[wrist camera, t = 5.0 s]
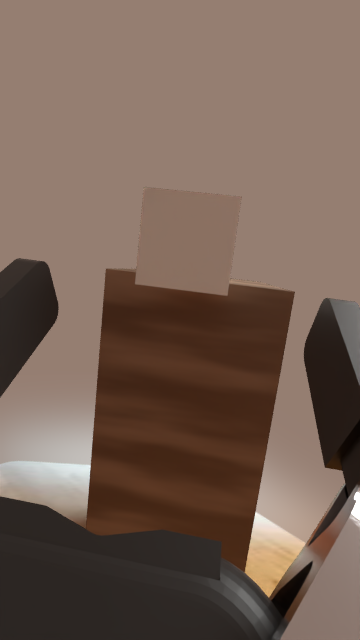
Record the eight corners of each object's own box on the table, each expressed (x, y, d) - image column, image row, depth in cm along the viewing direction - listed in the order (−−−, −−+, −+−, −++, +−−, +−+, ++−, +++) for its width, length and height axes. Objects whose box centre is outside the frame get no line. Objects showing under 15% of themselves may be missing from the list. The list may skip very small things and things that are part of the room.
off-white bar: (227, 295, 10) (241, 196, 9) (135, 283, 10) (143, 187, 10) (218, 277, 35) (222, 249, 35) (192, 273, 36) (195, 246, 35)
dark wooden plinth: (222, 696, 25) (294, 291, 19) (75, 661, 26) (105, 268, 20) (219, 531, 40) (259, 281, 35) (128, 513, 42) (153, 269, 36)
